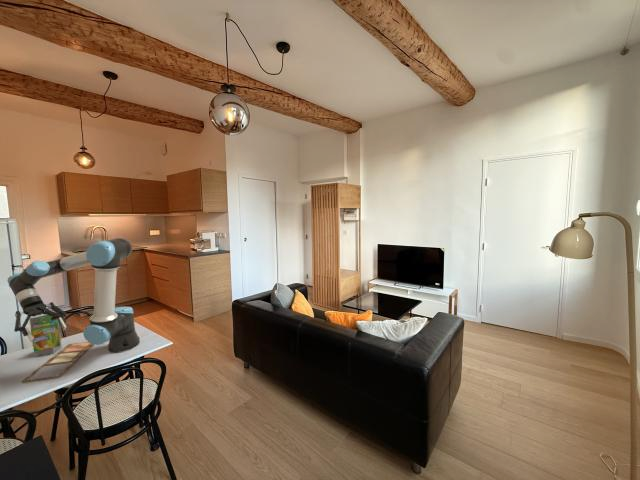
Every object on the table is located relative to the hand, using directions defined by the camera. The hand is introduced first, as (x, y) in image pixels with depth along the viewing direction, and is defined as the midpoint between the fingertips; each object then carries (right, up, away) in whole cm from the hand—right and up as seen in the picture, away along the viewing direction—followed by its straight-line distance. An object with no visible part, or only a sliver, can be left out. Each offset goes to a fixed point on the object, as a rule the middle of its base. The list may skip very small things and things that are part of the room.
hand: (49, 334), depth 134 cm
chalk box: (-2, -7, +2) cm, 7 cm away
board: (-4, -18, +13) cm, 22 cm away
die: (-20, -17, +20) cm, 33 cm away
